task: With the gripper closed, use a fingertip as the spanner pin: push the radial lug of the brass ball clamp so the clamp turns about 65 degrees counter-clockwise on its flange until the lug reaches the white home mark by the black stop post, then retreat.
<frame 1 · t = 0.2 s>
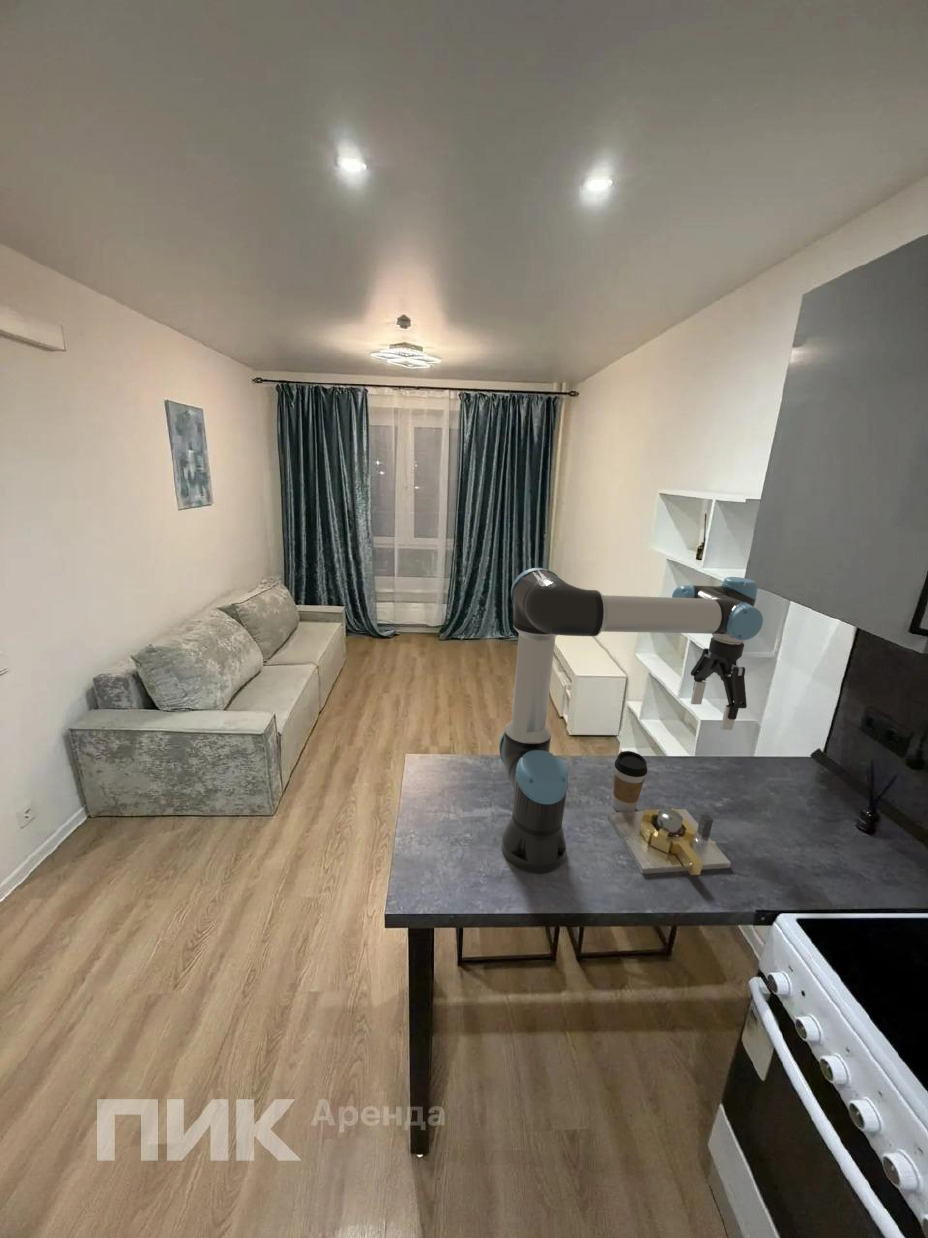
hand: (710, 716, 131), 28 cm above the table, fingers open, 13 cm apart
flange plate: (665, 841, 124), on the table
coffee cup: (623, 807, 136), on the table
brass ball clamp: (674, 838, 120), point 4 cm above the table, hinge at 0.0°
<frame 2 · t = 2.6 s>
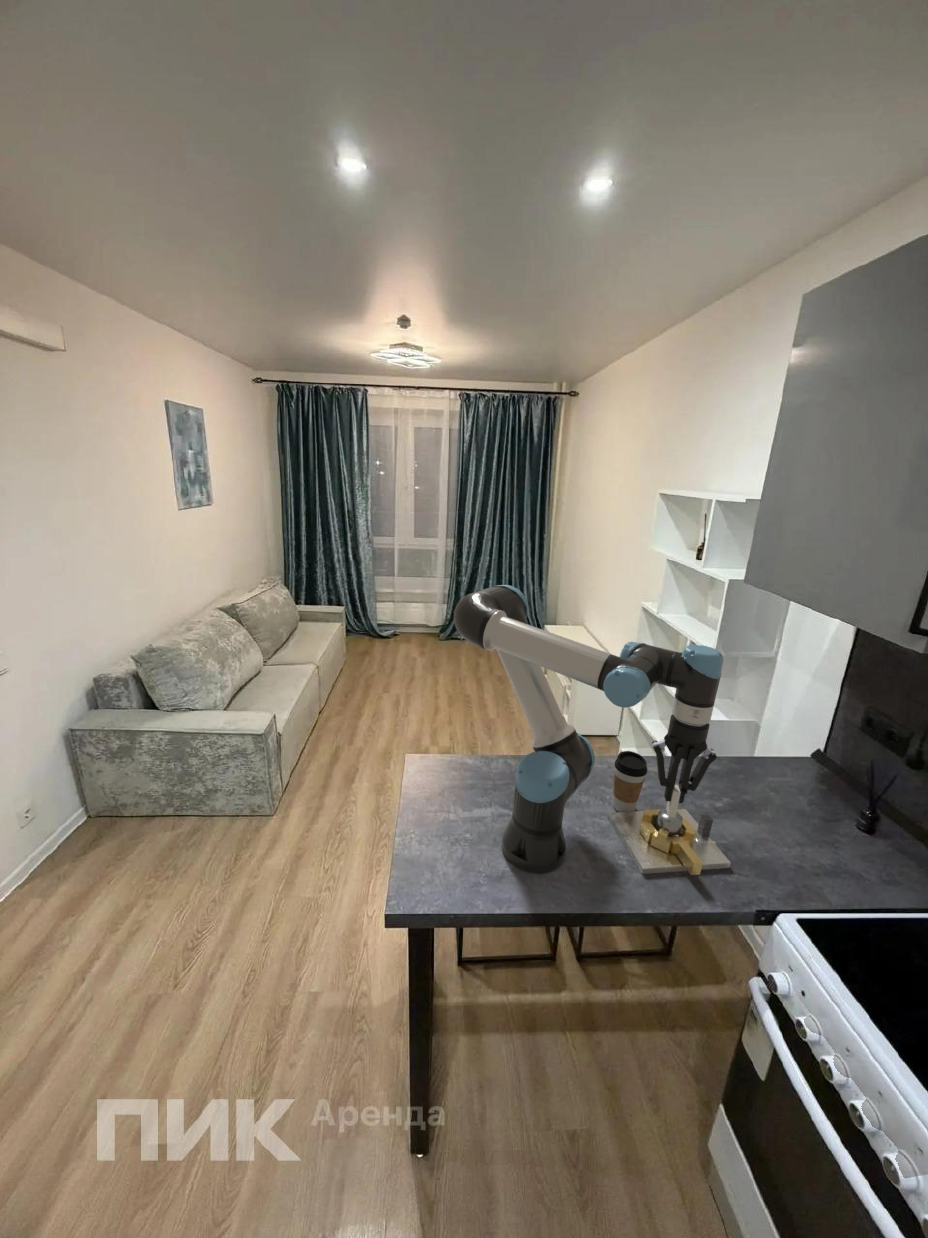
hand: (670, 813, 111), 15 cm above the table, fingers closed
nothing on the table moved.
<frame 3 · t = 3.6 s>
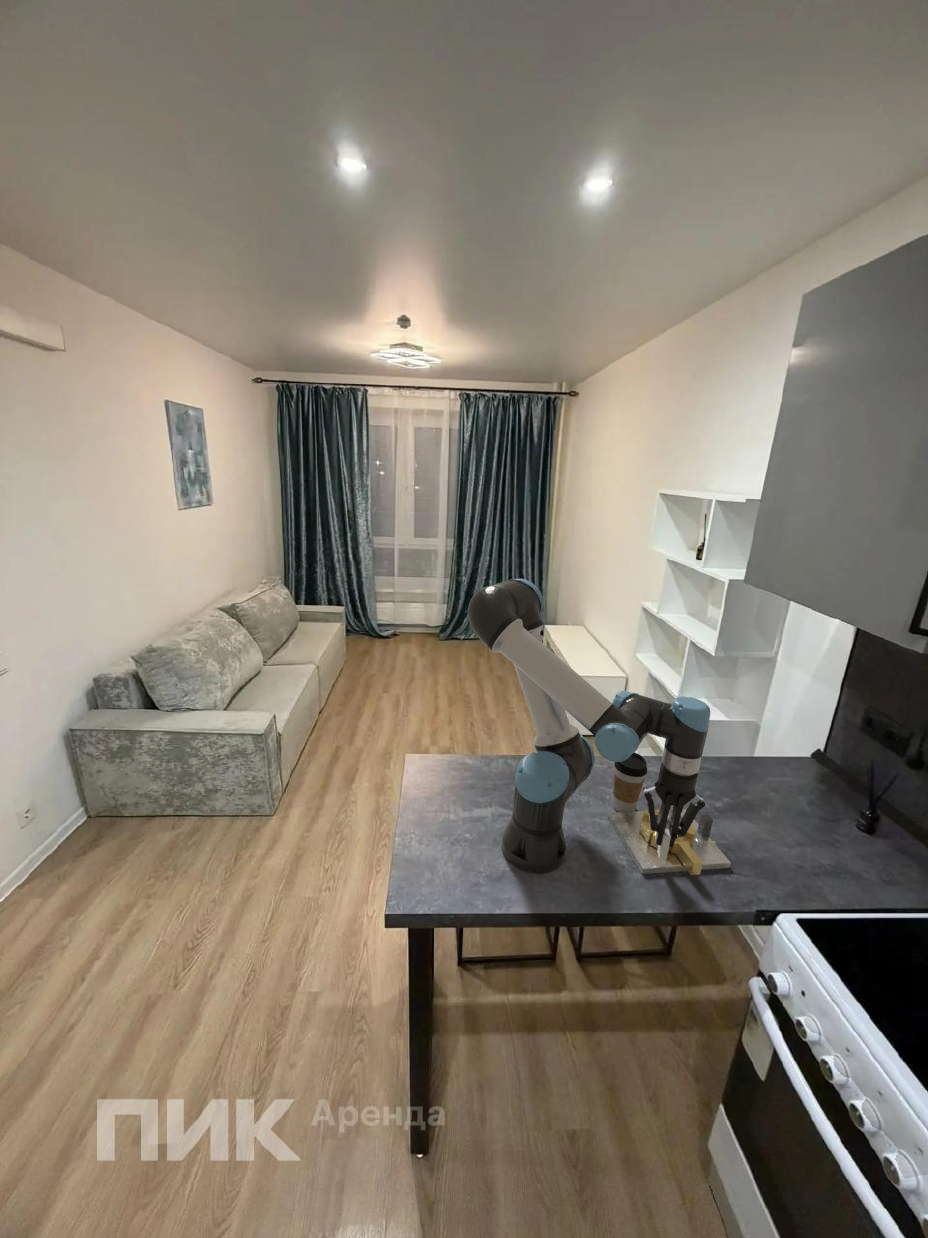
hand: (661, 856, 115), 3 cm above the table, fingers closed
nothing on the table moved.
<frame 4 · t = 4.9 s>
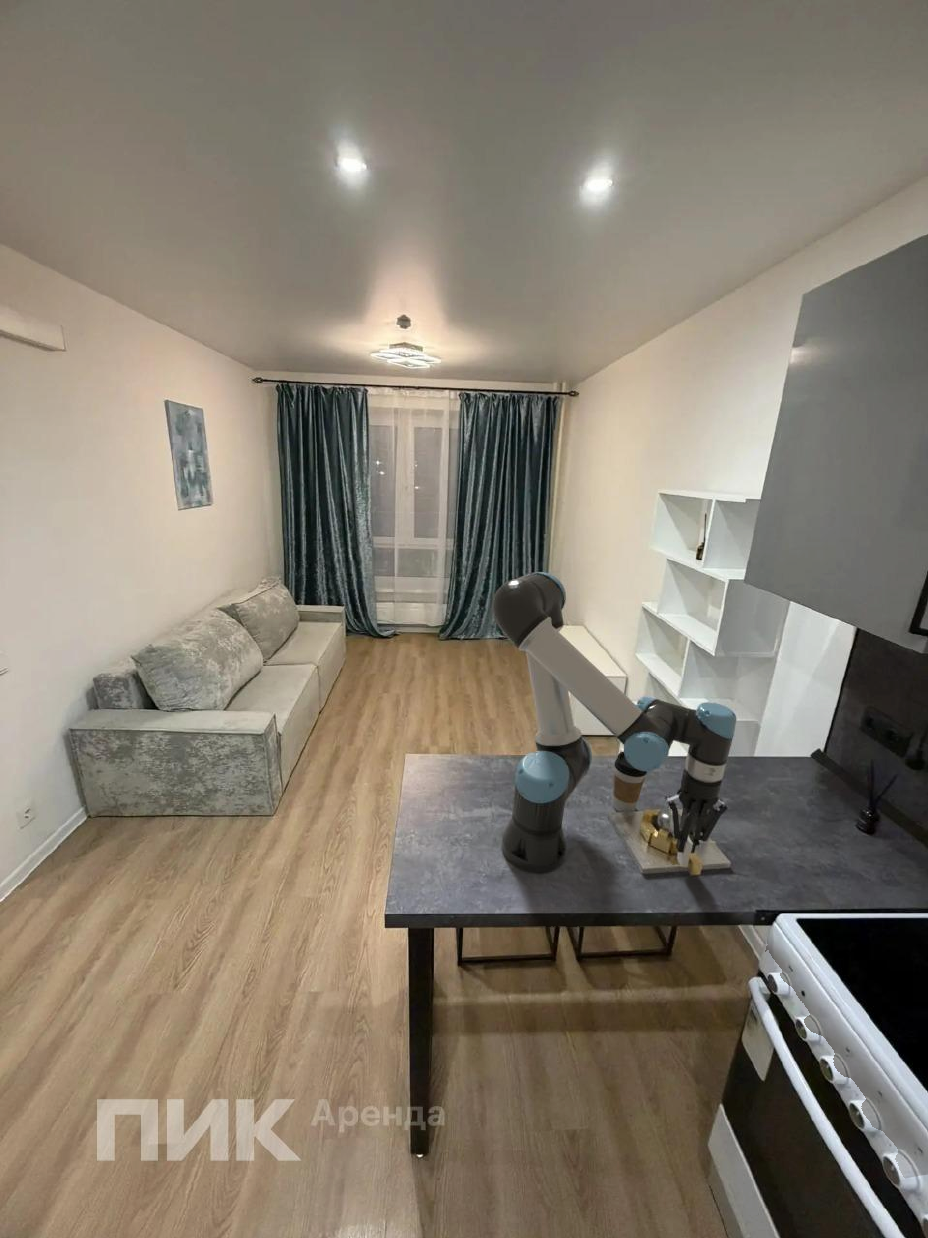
hand: (682, 862, 114), 3 cm above the table, fingers closed
brass ball clamp: (674, 838, 120), point 4 cm above the table, hinge at 0.2°, touching gripper
everything else where it was.
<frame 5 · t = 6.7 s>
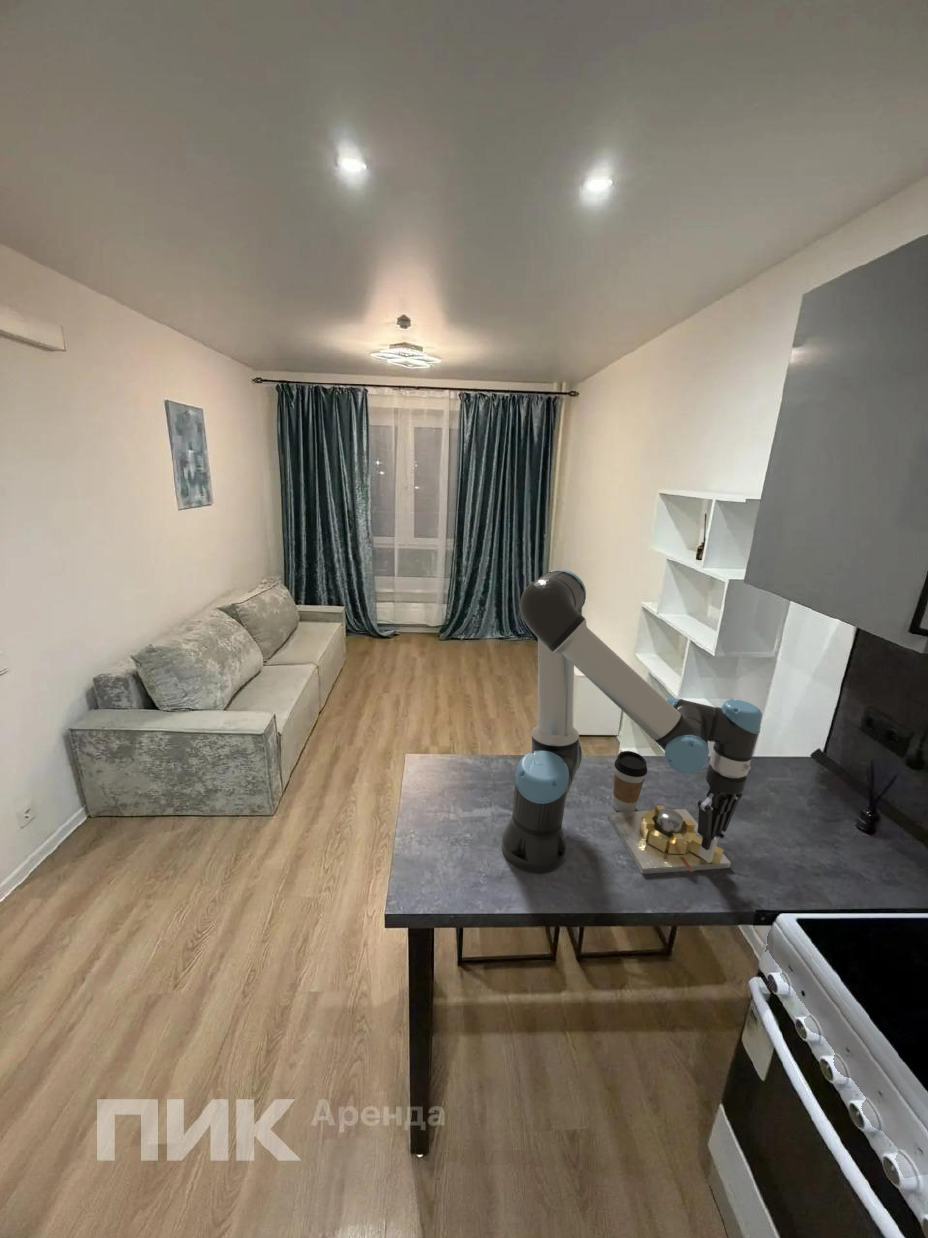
hand: (705, 858, 116), 3 cm above the table, fingers closed
brass ball clamp: (681, 835, 121), point 4 cm above the table, hinge at 38.3°, touching gripper
everything else where it was.
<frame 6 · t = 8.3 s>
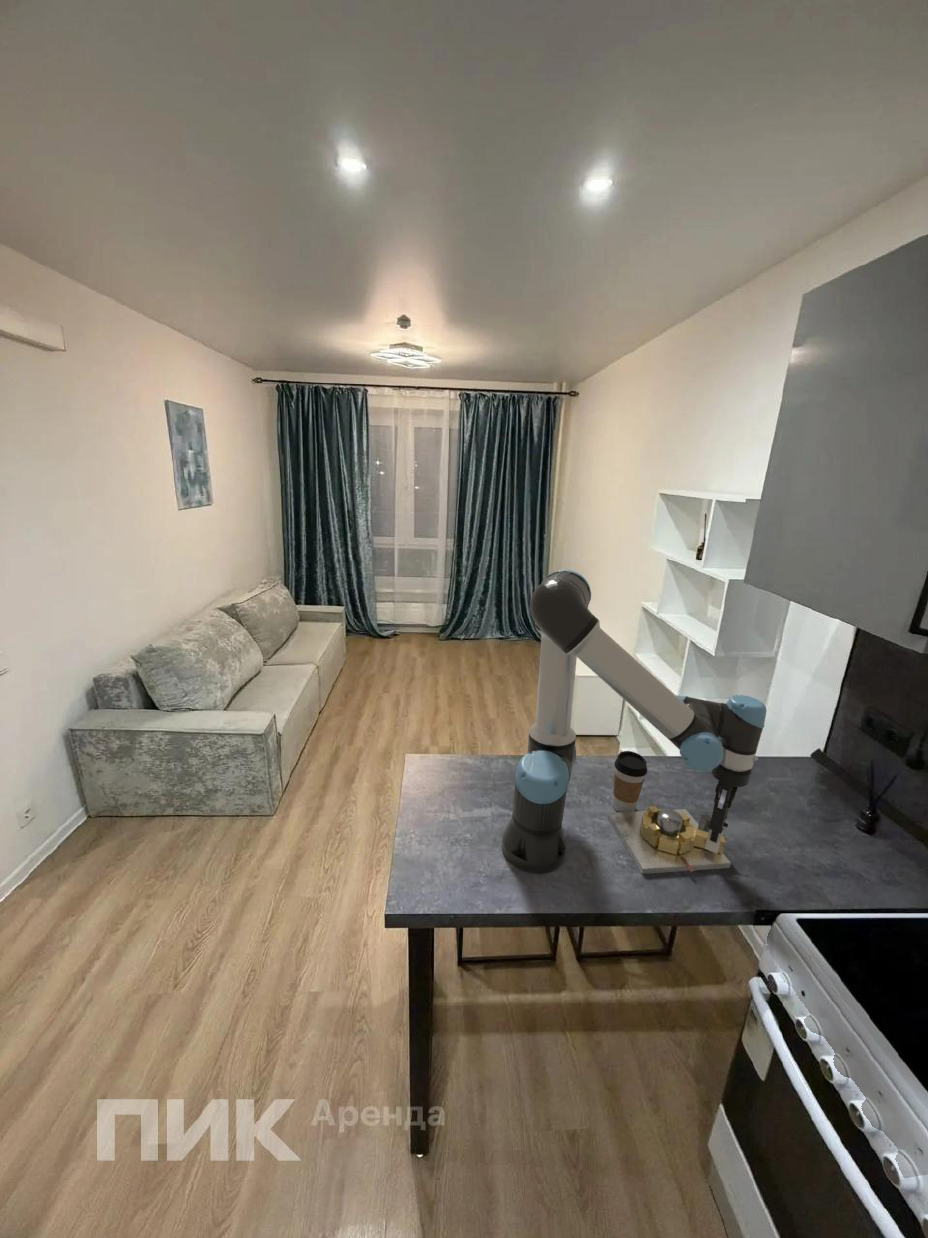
hand: (711, 849, 119), 3 cm above the table, fingers closed
brass ball clamp: (681, 832, 122), point 4 cm above the table, hinge at 61.9°, touching gripper
everything else where it was.
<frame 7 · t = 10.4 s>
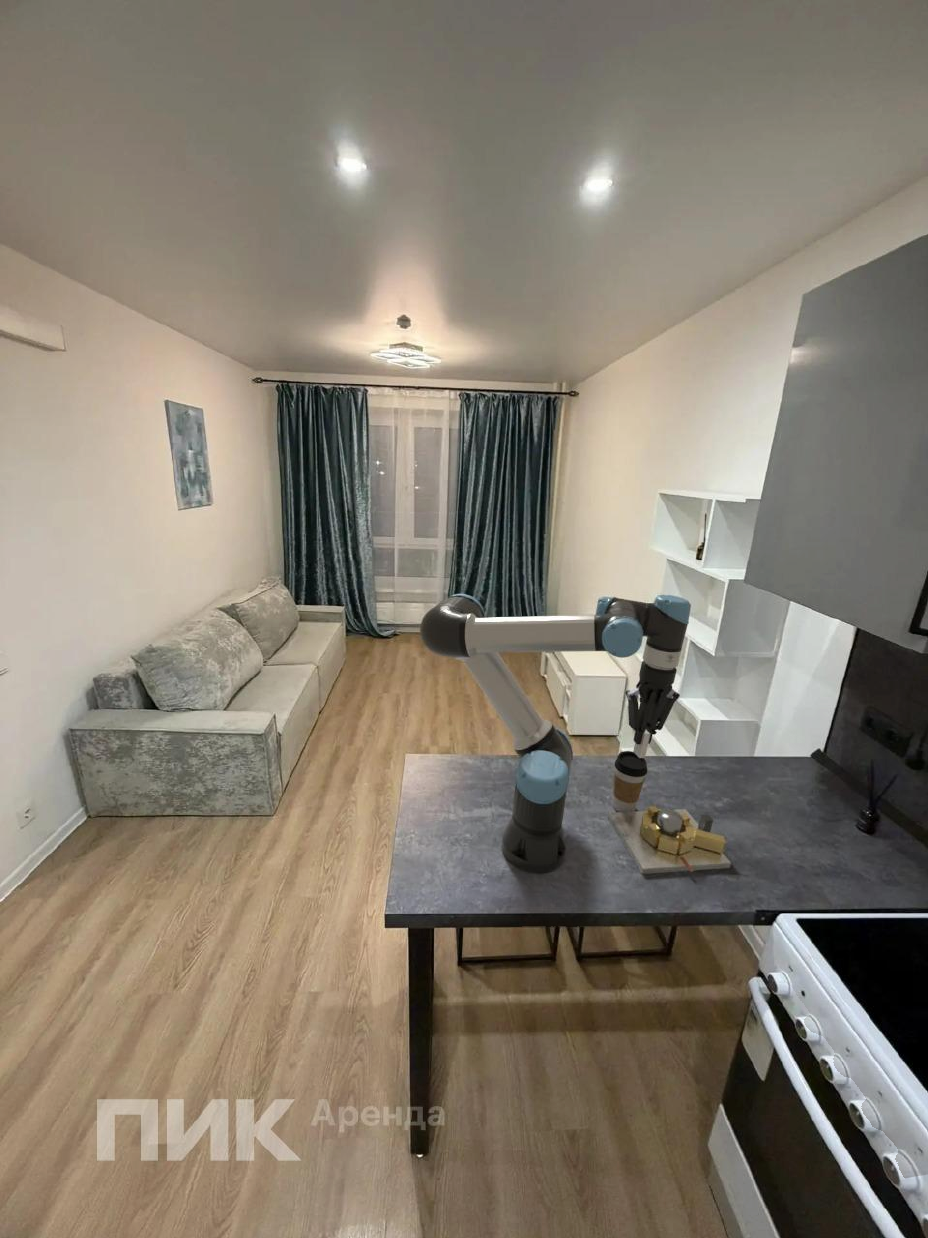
hand: (639, 754, 119), 23 cm above the table, fingers closed
brass ball clamp: (681, 832, 122), point 4 cm above the table, hinge at 61.9°
everything else where it was.
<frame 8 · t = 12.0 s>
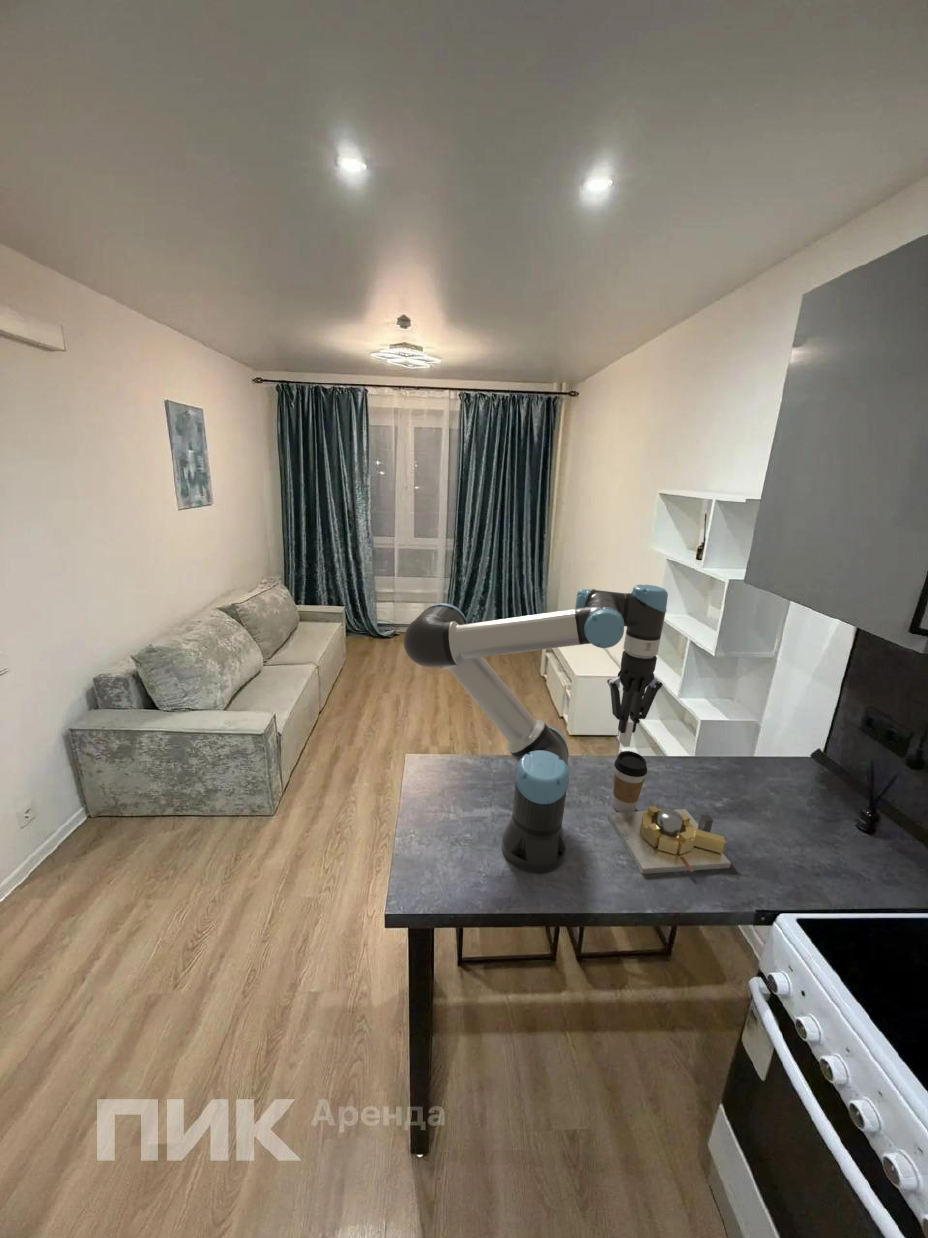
hand: (624, 743, 121), 24 cm above the table, fingers closed
nothing on the table moved.
at the end: brass ball clamp at +62° (first picture: +0°) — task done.
